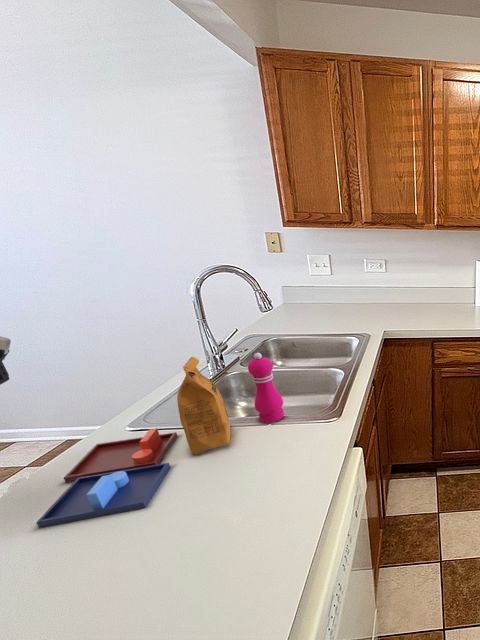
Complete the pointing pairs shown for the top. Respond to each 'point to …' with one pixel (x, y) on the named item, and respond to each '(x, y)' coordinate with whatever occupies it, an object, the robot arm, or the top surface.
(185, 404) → the coffee package
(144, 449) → the coral spoon
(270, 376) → the pepper mill
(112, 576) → the top surface
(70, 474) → the maroon tray
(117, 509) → the navy tray
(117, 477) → the blue spoon
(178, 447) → the top surface
